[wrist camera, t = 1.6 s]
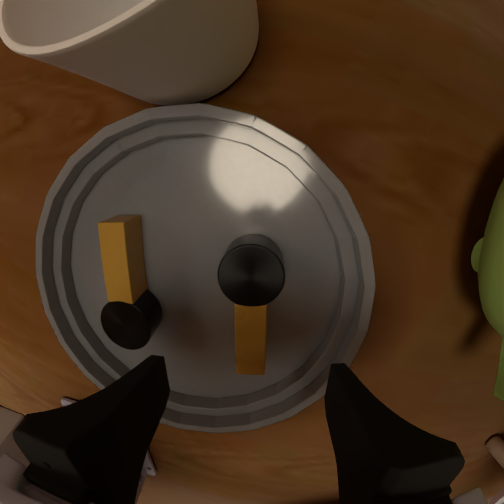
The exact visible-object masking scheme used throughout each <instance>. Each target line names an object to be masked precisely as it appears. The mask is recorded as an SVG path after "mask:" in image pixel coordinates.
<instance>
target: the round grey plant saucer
mask: <svg viewBox="0 0 504 504" xmlns="http://www.w3.org/2000/svg"><path fill="white" fill-rule="evenodd" d="M117 215H140V216H141V229H142V242H143V253H144V264H145V273H146V282H147V289H148V290H149V291H150V292H152V293H153V294H154V295H155V296H156V298H157V299H158V301H159V302H160V304H161V307H162V312H163V316H162V321H161V323H160V325H159V326H158V328H157V330H156V331H155V333H154V334H153V336H152V337H151V339H150V340H149V342H148V343H147V344H146V345H145V346H144V347H142V348H140V349H137V350H129V349H125V348H122V347H120V346H118V345H117V344H115V343H114V342H113V341H111V340H110V338H109V337H108V336H107V335H106V333H105V332H104V330H103V327H102V324H101V311H102V309H103V307H104V306H105V305H106V304H107V303H108V302H109V301H108V297H107V291H106V285H105V278H104V272H103V264H102V257H101V249H100V240H99V230H98V223H99V222H101V221H104V220H106V219H109V218H112V217H114V216H117ZM36 233H37V234H36V276H37V281H38V286H39V290H40V295H41V299H42V303H43V307H44V310H45V313H46V315H47V317H48V319H49V322H50V324H51V326H52V328H53V330H54V332H55V334H56V336H57V338H58V340H59V342H60V344H61V345H62V347H63V348H64V350H65V351H66V352H67V354H68V355H69V356H70V358H71V359H72V360H73V361H74V363H75V364H76V365H77V367H78V368H79V369H80V370H81V372H82V373H83V374H84V375H85V376H86V377H87V378H88V379H89V380H91V381H92V382H93V383H94V384H95V385H96V386H97V387H99V388H100V389H101V390H102V389H104V388H106V387H107V386H109V385H110V384H112V383H113V382H115V381H116V380H118V379H119V378H121V377H122V376H124V375H125V374H126V373H128V372H129V371H130V370H132V369H133V368H134V367H136V366H137V365H138V364H140V363H141V362H142V361H144V360H145V359H146V358H147V357H149V356H150V355H157V356H164V359H165V365H166V370H167V376H168V381H169V386H170V394H169V397H168V401H167V405H166V408H165V411H164V413H163V415H162V418H161V420H160V423H163V424H166V425H169V426H172V427H175V428H180V429H185V430H192V431H200V432H210V433H225V432H237V431H247V430H253V429H257V428H260V427H264V426H267V425H270V424H273V423H276V422H279V421H282V420H285V419H288V418H290V417H292V416H293V415H295V414H296V413H298V412H300V411H301V410H303V409H305V408H306V407H308V406H309V405H311V404H313V403H314V402H316V401H317V400H319V399H320V398H321V397H323V396H324V395H325V392H326V387H327V382H328V377H329V371H330V366H331V363H345V364H346V365H347V366H348V367H349V368H350V366H351V364H352V362H353V360H354V358H355V356H356V354H357V352H358V350H359V348H360V346H361V344H362V342H363V340H364V338H365V336H366V334H367V332H368V328H369V323H370V318H371V312H372V307H373V301H374V295H375V288H376V283H375V274H374V266H373V258H372V251H371V244H370V238H369V235H368V233H367V230H366V228H365V226H364V224H363V222H362V219H361V217H360V215H359V213H358V211H357V209H356V207H355V204H354V202H353V200H352V198H351V196H350V194H349V192H348V190H347V189H346V187H345V185H344V184H343V183H342V182H341V181H340V180H339V179H338V177H337V176H336V175H335V174H334V173H333V172H332V171H331V170H330V169H329V167H328V166H327V165H326V164H325V163H324V162H323V161H322V160H321V159H320V158H319V157H318V156H317V155H316V153H315V152H314V151H313V150H312V149H311V148H310V147H309V146H307V145H306V144H305V143H303V142H302V141H300V140H298V139H297V138H295V137H293V136H292V135H290V134H288V133H287V132H285V131H283V130H282V129H280V128H278V127H276V126H275V125H273V124H271V123H269V122H268V121H266V120H264V119H262V118H260V117H259V116H256V115H253V114H249V113H245V112H241V111H236V110H232V109H227V108H223V107H218V106H213V105H208V104H203V103H202V104H201V103H194V104H182V105H171V106H162V107H153V108H147V109H145V110H142V111H140V112H137V113H135V114H133V115H130V116H128V117H126V118H123V119H121V120H119V121H117V122H114V123H112V124H110V125H108V126H106V127H104V128H103V129H101V130H100V131H99V132H98V133H97V134H95V135H94V136H93V137H92V138H91V139H90V140H89V141H87V142H86V143H85V144H84V145H83V146H82V147H81V148H80V149H78V150H77V151H76V152H75V153H74V154H73V155H72V156H71V157H70V158H69V159H68V161H67V162H66V164H65V165H64V167H63V168H62V170H61V172H60V173H59V175H58V176H57V178H56V180H55V181H54V183H53V185H52V186H51V188H50V190H49V192H48V193H47V196H46V199H45V203H44V206H43V210H42V213H41V217H40V220H39V224H38V228H37V232H36ZM248 234H258V235H263V236H265V237H267V238H269V239H271V240H272V241H273V242H274V243H275V244H276V245H277V246H278V247H279V249H280V251H281V253H282V256H283V261H284V269H285V283H284V286H283V289H282V291H281V292H280V294H279V295H278V296H277V297H276V298H275V299H274V300H273V301H272V302H270V303H268V304H267V333H266V361H265V374H264V375H250V374H237V373H236V353H235V306H234V305H235V303H234V302H232V301H231V300H229V299H228V298H227V297H226V296H225V295H224V293H223V292H222V290H221V289H220V286H219V283H218V278H217V271H218V267H219V264H220V261H221V259H222V257H223V256H224V254H225V252H226V250H227V248H228V246H229V245H230V244H231V243H232V242H233V241H234V240H235V239H237V238H239V237H241V236H244V235H248Z"/></svg>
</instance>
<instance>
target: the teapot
mask: <svg viewBox="0 0 504 504" xmlns="http://www.w3.org/2000/svg"><path fill="white" fill-rule="evenodd" d="M471 264H472V267H473V269H474V270H475V271H476V272H478V286H479V295H480V300H481V305H482V309H483V312H484V314H485V316H486V318H487V320H488V322H489V323H490V325H491V326H492V327H493V328H494V330H495V331H496V332H498V333H499V334H500V335H501V336H502V337H503V338H502V346H501V353H500V360H499V366H498V372H497V377H496V382H495V387H494V392H493V395H494V396H496V397H497V398H499V399H501V400H502V401H504V179H503V181H502V183H501V185H500V187H499V189H498V192H497V195H496V197H495V199H494V202H493V205H492V208H491V211H490V215H489V218H488V222H487V225H486V230H485V234H484V237H483V238H481V239H480V240H479V241H478V242H477V243H476V244H475V246H474V248H473V251H472V254H471Z"/></svg>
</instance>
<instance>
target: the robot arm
mask: <svg viewBox="0 0 504 504" xmlns="http://www.w3.org/2000/svg"><path fill="white" fill-rule="evenodd" d="M169 394H170V386H169V381H168V376H167V370H166V365H165V359H164V356H157V355H150V356H149V357H147V358H146V359H145V360H144V361H142V362H141V363H140V364H138V365H137V366H136V367H134V368H133V369H132V370H130V371H129V372H128V373H126V374H125V375H124V376H122V377H121V378H119V379H118V380H116V381H115V382H113V383H112V384H110V385H109V386H107V387H106V388H104V389H102V390H100V391H99V392H97V393H95V394H93V395H91V396H89V397H87V398H85V399H82V400H80V401H74V400H71V399H67V398H62V399H61V403H62V405H63V407H60V408H57V409H53V410H49V411H44V412H38V413H32V414H27V415H26V416H25V417H24V418H23V419H22V421H21V422H20V423H19V424H18V426H17V427H16V428H15V429H14V431H13V434H12V435H13V438H14V441H15V443H16V444H17V446H18V447H19V449H20V450H21V451H22V453H23V454H24V456H25V457H26V458H27V460H28V461H29V462H30V464H29V466H28V467H26V466H25V465H24V464H22V463H21V462H19V461H18V460H16V459H14V458H13V457H11V456H9V455H8V454H6V453H4V454H3V456H2V457H1V458H0V504H136V503H137V500H138V497H139V495H140V492H141V489H142V486H143V484H144V481H145V478H146V476H147V474H148V475H153V476H155V475H156V474H157V471H156V469H155V467H154V464H153V462H152V459H151V457H150V454H149V452H148V448H149V445H150V443H151V440H152V438H153V436H154V434H155V431H156V429H157V427H158V425H159V422H160V420H161V418H162V415H163V413H164V411H165V408H166V405H167V401H168V397H169ZM324 399H325V410H326V418H327V422H328V427H329V431H330V435H331V440H332V444H333V448H334V452H335V457H336V463H337V473H338V485H339V504H488V503H487V501H486V499H485V496H484V494H483V492H482V490H481V488H480V487H478V488H476V489H473V490H471V491H469V492H466V493H464V494H461V495H459V496H457V497H455V498H453V499H452V500H451V499H450V497H449V494H450V493H451V492H452V490H451V487H450V483H451V482H452V481H453V480H454V479H455V477H456V476H457V475H458V474H459V473H460V471H461V470H462V468H463V466H464V463H465V460H464V458H463V456H462V454H461V452H460V450H459V448H458V446H457V445H456V443H455V442H452V441H449V440H446V439H443V438H440V437H437V436H435V435H432V434H430V433H428V432H426V431H423V430H421V429H420V428H418V427H416V426H414V425H412V424H411V423H409V422H407V421H406V420H404V419H402V418H401V417H399V416H398V415H397V414H395V413H394V412H393V411H391V410H390V409H389V408H387V407H386V406H385V405H384V404H383V403H382V402H380V401H379V400H378V399H377V398H376V397H375V396H374V395H373V394H372V393H371V392H370V391H369V390H368V389H367V388H366V387H365V386H364V385H363V383H362V382H361V381H360V380H359V379H358V378H357V377H356V376H355V374H354V373H353V372H352V371H351V370H350V368H349V367H348V366H347V365H346V364H345V363H331V366H330V371H329V377H328V382H327V387H326V392H325V397H324Z"/></svg>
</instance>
